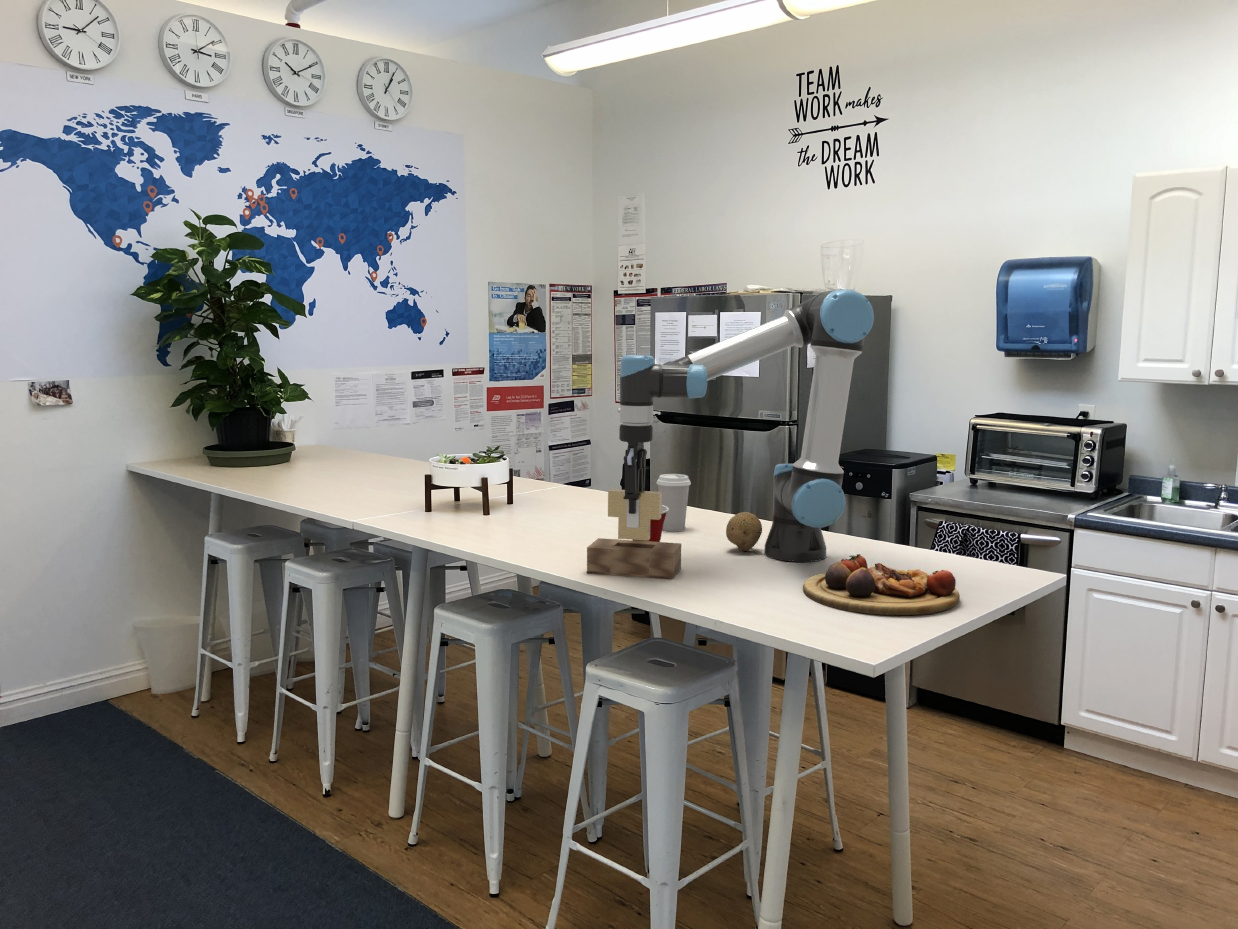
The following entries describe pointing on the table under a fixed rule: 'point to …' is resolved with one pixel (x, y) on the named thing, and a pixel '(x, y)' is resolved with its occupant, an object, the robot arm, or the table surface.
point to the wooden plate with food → (882, 589)
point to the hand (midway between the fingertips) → (634, 525)
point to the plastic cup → (657, 526)
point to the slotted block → (634, 558)
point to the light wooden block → (647, 511)
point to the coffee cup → (674, 500)
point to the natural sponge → (744, 530)
